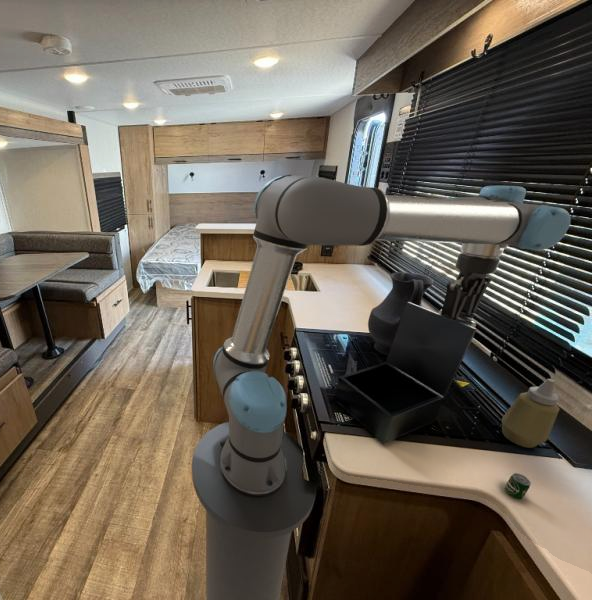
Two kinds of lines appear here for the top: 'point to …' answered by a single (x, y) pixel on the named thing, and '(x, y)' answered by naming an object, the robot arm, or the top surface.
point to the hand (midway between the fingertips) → (448, 338)
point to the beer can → (517, 486)
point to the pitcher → (395, 307)
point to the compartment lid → (430, 346)
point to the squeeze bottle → (531, 416)
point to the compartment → (387, 401)
